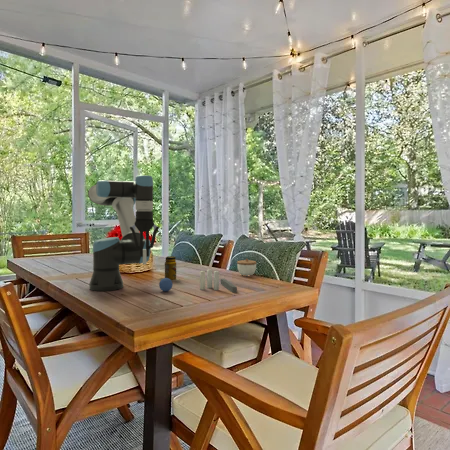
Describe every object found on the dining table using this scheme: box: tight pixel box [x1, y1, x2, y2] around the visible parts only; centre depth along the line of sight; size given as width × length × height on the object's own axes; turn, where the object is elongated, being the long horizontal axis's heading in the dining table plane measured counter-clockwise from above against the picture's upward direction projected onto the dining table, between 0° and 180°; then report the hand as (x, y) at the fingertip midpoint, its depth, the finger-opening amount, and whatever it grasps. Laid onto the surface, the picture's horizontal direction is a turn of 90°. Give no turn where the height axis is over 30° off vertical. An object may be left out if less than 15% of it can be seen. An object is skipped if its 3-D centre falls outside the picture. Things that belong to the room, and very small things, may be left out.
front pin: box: [199, 270, 206, 291], centre depth 174 cm, size 2×2×8 cm
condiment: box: [159, 255, 180, 282], centre depth 197 cm, size 7×8×12 cm
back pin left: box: [206, 269, 213, 289], centre depth 178 cm, size 2×2×8 cm
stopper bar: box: [220, 278, 238, 294], centre depth 178 cm, size 2×20×2 cm, turn 16°
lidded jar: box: [237, 258, 257, 277], centre depth 211 cm, size 11×11×9 cm
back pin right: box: [213, 270, 220, 291], centre depth 174 cm, size 2×2×8 cm
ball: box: [158, 277, 174, 292], centre depth 170 cm, size 6×6×6 cm
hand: (144, 263), depth 166 cm, fingers closed
